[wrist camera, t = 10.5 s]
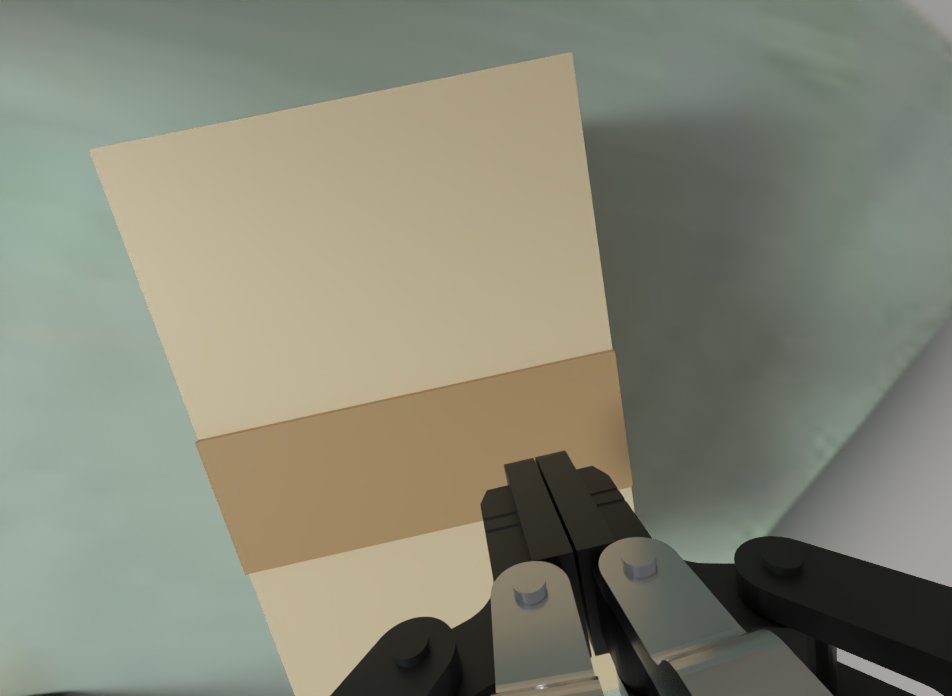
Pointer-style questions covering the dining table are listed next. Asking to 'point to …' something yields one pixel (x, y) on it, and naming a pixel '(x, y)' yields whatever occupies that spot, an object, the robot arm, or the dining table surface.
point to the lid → (377, 336)
